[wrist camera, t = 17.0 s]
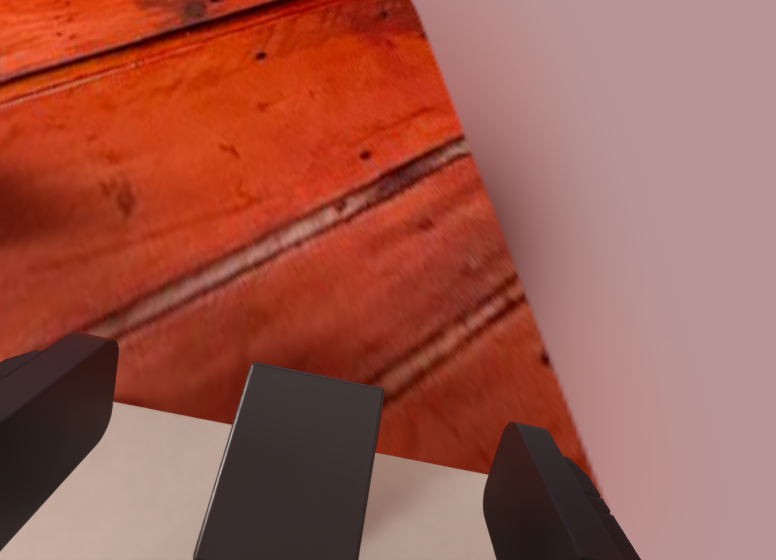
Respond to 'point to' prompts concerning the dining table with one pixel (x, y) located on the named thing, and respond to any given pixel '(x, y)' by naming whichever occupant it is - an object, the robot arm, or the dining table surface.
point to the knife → (294, 469)
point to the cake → (193, 491)
